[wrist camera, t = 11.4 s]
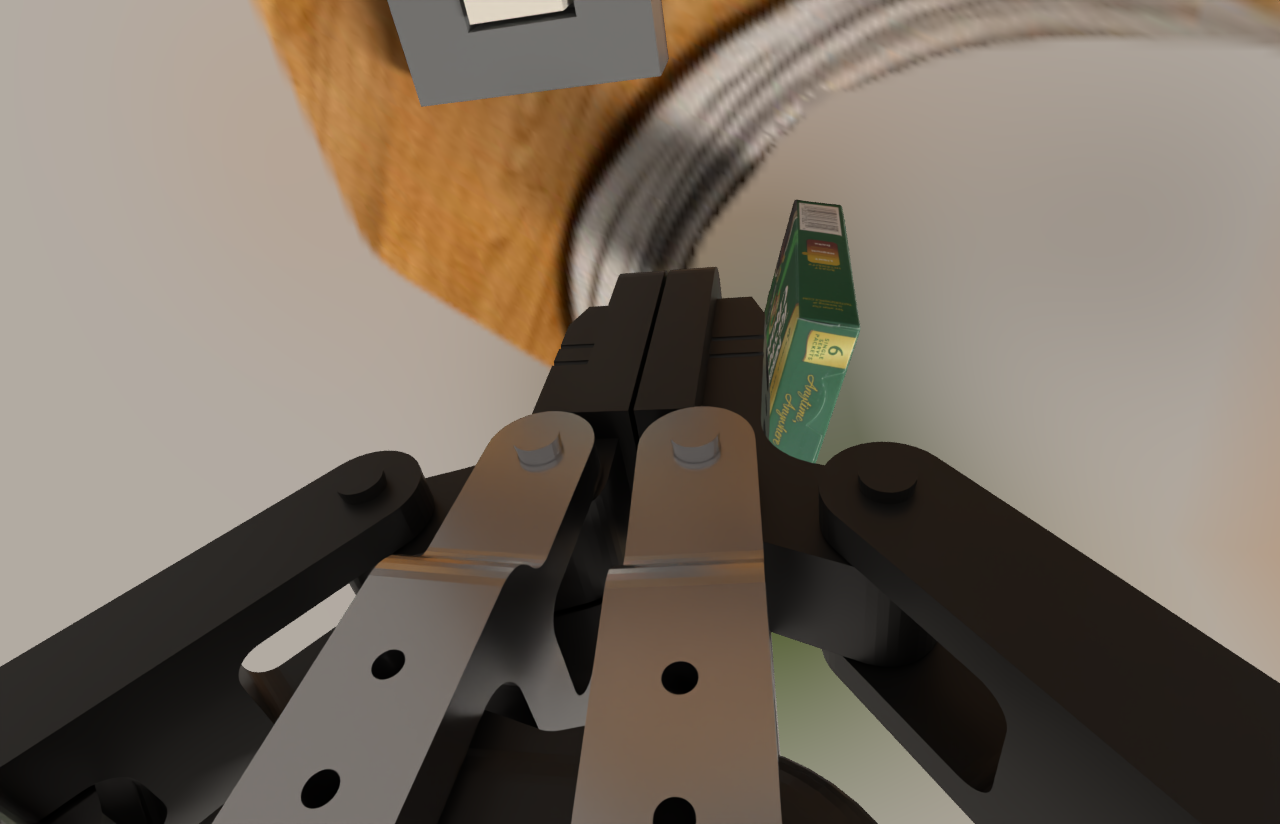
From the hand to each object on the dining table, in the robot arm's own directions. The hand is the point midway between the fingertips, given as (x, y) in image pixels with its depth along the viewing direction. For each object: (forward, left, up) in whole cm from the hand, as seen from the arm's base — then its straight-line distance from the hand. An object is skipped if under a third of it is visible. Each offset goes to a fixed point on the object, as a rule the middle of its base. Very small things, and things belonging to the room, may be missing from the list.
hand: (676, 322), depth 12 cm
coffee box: (-2, +14, -29) cm, 32 cm away
